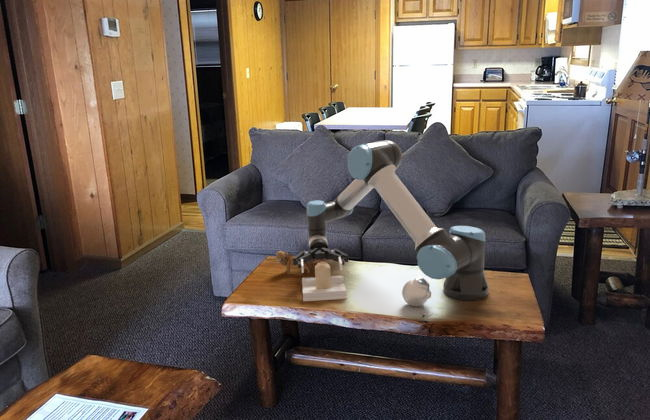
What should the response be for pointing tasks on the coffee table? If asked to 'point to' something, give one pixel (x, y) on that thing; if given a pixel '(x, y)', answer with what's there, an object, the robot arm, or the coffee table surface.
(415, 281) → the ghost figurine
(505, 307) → the coffee table surface
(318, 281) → the candle
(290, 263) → the lion figurine
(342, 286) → the tray
